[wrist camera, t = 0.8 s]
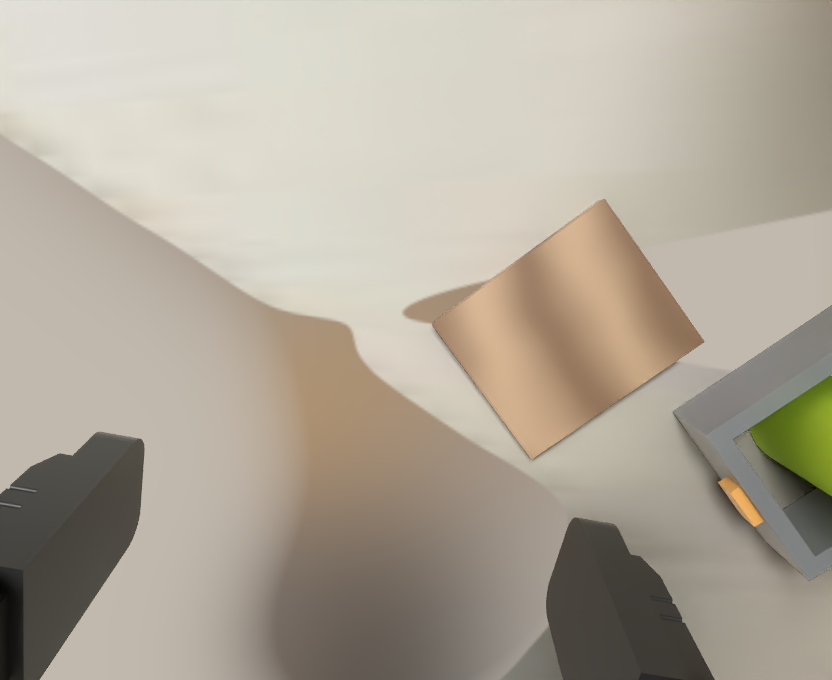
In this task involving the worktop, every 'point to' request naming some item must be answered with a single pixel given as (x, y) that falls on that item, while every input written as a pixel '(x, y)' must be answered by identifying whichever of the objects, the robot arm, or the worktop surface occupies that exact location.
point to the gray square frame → (748, 405)
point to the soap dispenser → (802, 435)
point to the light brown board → (568, 329)
